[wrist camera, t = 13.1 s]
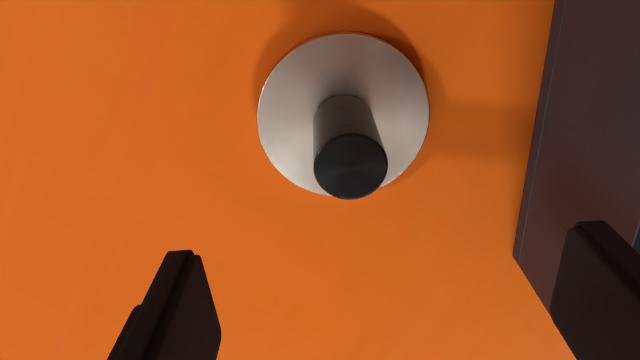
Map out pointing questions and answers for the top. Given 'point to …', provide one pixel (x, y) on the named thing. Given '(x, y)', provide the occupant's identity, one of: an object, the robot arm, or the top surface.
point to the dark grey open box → (583, 136)
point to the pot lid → (343, 114)
